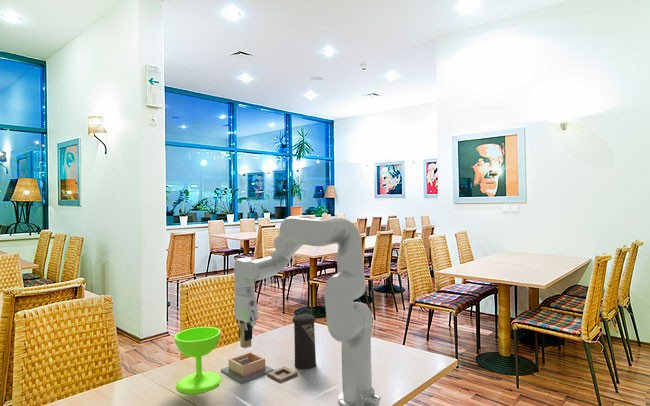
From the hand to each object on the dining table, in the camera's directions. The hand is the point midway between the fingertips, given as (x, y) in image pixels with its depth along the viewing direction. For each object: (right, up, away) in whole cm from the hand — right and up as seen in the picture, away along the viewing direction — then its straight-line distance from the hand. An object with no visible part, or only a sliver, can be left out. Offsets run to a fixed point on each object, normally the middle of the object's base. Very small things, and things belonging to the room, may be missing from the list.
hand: (245, 338), depth 154 cm
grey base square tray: (+1, -13, 0) cm, 13 cm away
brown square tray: (+15, -13, -5) cm, 20 cm away
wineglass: (-15, -14, -8) cm, 22 cm away
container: (+23, -13, +4) cm, 26 cm away
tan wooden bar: (0, -3, 0) cm, 3 cm away
